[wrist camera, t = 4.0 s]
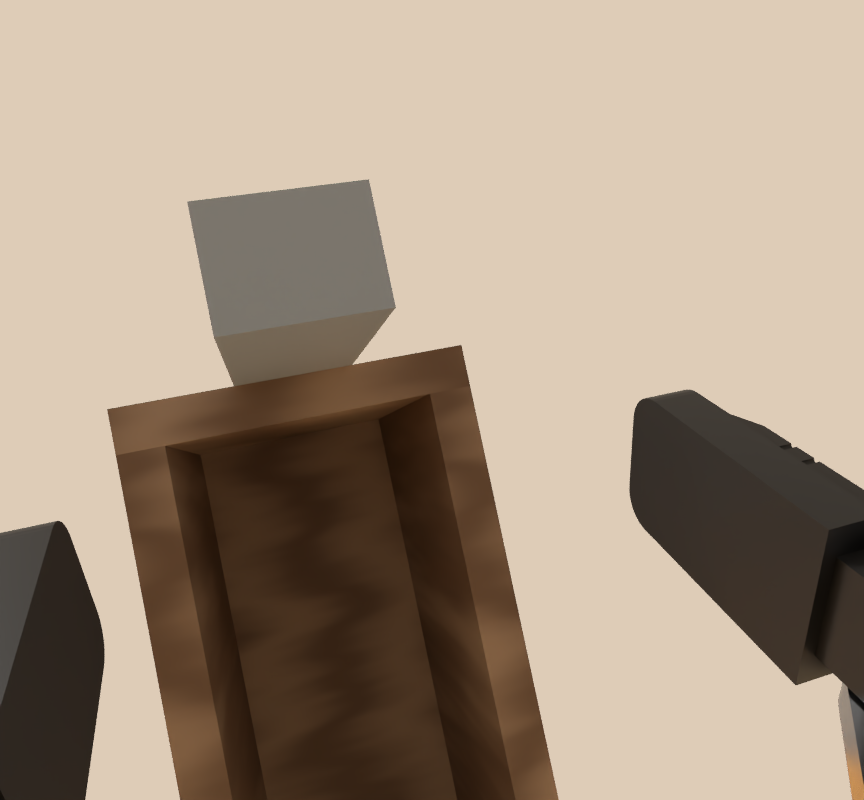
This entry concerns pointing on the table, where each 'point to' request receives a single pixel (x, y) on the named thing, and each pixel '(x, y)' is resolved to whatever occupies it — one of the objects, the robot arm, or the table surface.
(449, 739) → the walnut stand
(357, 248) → the gray l-shaped block
